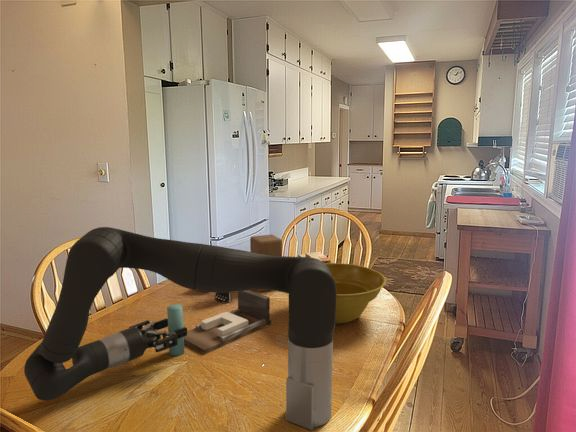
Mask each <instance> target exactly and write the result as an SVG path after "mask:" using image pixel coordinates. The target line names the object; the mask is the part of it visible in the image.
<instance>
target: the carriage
mask: <svg viewBox="0 0 576 432" xmlns="http://www.w3.org/2000/svg"><path fill="white" fill-rule="evenodd" d="M229 312H230V311H227V310H226V311H224V312H221V313H218V314H216V315H214V316H211V317H208V318H206V319H203V320H201V321H200V323H201V328H202V329H204V330H208V329H210V328H213V327H215V326H218V325H220V324H223V325H225V326H223V327H220V328H218V329H217V333H218V336H219V337H222V336H225V335H227V334H229V333H232V332H234V331H236V330H239V329H241V328H243V327H246V326H248V320H247V319H244V318H242V317H239V316H237V315H234V314H232V313H229Z"/></svg>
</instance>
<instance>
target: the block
mask: <svg viewBox="0 0 576 432" xmlns="http://www.w3.org/2000/svg"><path fill="white" fill-rule="evenodd" d="M249 240H250V241H249V243H250V251H249V252H253V253H258V254H263V255H270V256H283V240H282V238H280V237H278V236H276V235H274V234H264V235H253V236H251V237H250V239H249ZM256 290H257V291H258V292H260V293H261V292H265V291H266V292H267V291H269V290H268V289H256Z"/></svg>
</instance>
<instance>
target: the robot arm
mask: <svg viewBox="0 0 576 432" xmlns="http://www.w3.org/2000/svg"><path fill="white" fill-rule="evenodd" d="M125 268H126V269H135V270H145V271H149V272H153V273H155V274H158V275H160V276H161V277H163V278H165V279H167V280H169V281H170V282H172V283H174V284H176V285H178V286H180V287H182V288H184V289H189V290H194V291H200V292H207V293H215V294H216V293H229V292H231V293H235V292H237V293H238V291H245V290H249V291H252V290H257V289H268V291H273V292H275V291H276V292H280V293H285V294H288V325H287V326H288V327H287V378H286V379H285V386H286V387H285V389H286V391H285V394H286V395H285V408H286V409H285V420H286V421H288V422H289V423H292V424H295V425H298V426H300V427H303V428H305V429H308V430H310V431H313V430H314V429H315V428H317V427H320V426H323V425H325V424H327V423H328V422H329V421H330V419H331V417H332V404H333V403H332V402H333V401H332V398H333V357H334V356H333V355H334V353H333V352H334V331H335V328H336V323H335V316H336V284H335V280H334V278H333V276H332V273H331V271H330V269H329V268H328V266H327V265H326V264H325V263H324V262H322V261H321V260H318V259H316V258H311V257H298V256H284V255H282V256H270V255H263V254H258V253H253V252H250V251H247V250H242V249H236V248H230V247H225V246H218V245H211V244H204V243H198V242H197V243H196V242H188V241H181V240H175V239H173V240H172V239H166V238H158V237H152V236H148V235H144V234H140V233H135V232H131V231H127V230H123V229H119V228H114V227H110V226H109V227H108V226H100V227H96V228H93V229H91V230H89V231H88V232H86V233H85V234H84V235H82V237H80V238H79V239H78V240H76V242H74V243H73V245H72V246H71V247H70V249H69V251H68V254H67V258H66V263H65V267H64V272H63V274H64V275H63V279H62V285H61V289H60V293H59V296H58V300H57V303H56V306H55V308H54V310H53V311H54V312H53V314H52V317H51V318H50V320H49V324H48V326H47V327H46V330H45V332H44V335H43V338H42V339H41V340H42V341H41V342H40V344H38V346H36V348H35V349H34V350H33V352H31V354H30V355H29V356H28V357H27V358H26V360H25V363H24V367H23V372H24V376H25V378H26V380H27V382H28V385H29V386H30V389H31V390H32V392H33V394H34V396H35V397H36V398H37V399H38V400H39V401H46V402H47V401H53V400H56V399H59V398H60V397H62V396H63V395H64V394H66V393H67V392H69V391H70V390H71V389H72V388H74V387H75V386H77V385H78V384H81V382H83V381H84V380H86V379H87V378H89V377H91V376H93V375H95V374H98V373H100V372H103V371H105V370H108V369H111V368H115V367H118V366H121V365H123V364H126V363H127V362H131V361H133V360H136V359H137V358H141V357H142V356H143V355H144V353H145V352H146V351H147V349H150V348H154V349H155V351H154V352H155V353H160V352H162V351H165V350H169V348H171V347H174V346H176V345H178V340H177V339H179V338H182V337H184V336H187V331H188V328H187V327H184V326H183V328H181V329H178V330H176V331H174V332H168V331H166V330H162V329H165V328H168V317H167V318H163V319H160V320H157V321H150V320H145V321H142V322H138V323H137V324H133V325H131V326H129V327H128V328H126V329H122V330H120V331H118V332H113V333H111V334H108V335H106V336H104V337H102V338H100V339H98V340H95V341H91V342H89V343H85V344H84V345H80V344H81V342H82V340H83V339H84V338H83V337H84V335H85V333H86V330H87V327H88V323H89V319H90V318H89V317H90V311H91V307H92V306H93V303H94V302H95V299H96V298H97V295H98V294H99V292H100V291H101V290H102V288H103V287H104V286H105V284H106V283H107V282H108V281H109V279H110V278H111V277H113V276H114V275H115V274H116V273H117V271H118V270H119V269H125ZM143 326H144V327H143ZM161 337H162V338H161ZM169 343H170V344H169ZM70 360H71V362H72V366H71V367H68V368H66V366H65V365H64V363H67V362H68V361H70Z"/></svg>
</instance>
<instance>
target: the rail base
mask: <svg viewBox="0 0 576 432" xmlns="http://www.w3.org/2000/svg"><path fill="white" fill-rule="evenodd" d="M270 305H271V304H270V297H269V296H267V295H264V294H260V293H257V292H254V291H252V290H245V291H238V292H237V309H234V310H232V311H228V312H229V313H232V314H234V315H237V316H239V317H242V318H244V319H247V320H248V326H246V327H243V328H241V329H239V330H236V331H234V332H232V333H229V334H227V335H225V336H222V337H219V336H218V333H217V329H218V328H220V327H223V326H225V325H223V324H220V325H218V326H215V327H213V328H210V329H208V330H204V329H202V328H201V322H200V323H199V324H195V328H192V329H190V330H187V336H184V345H187V346H189V347H191V348H193V349H194V350H196V351H199V352H200V353H203V354H204V355H206V354H208V353H210V352H212V351H215V350H217V349H220V348H222V347H224V346H226V345H228V344H231V343H232V342H235V341H236V340H239V339H241V338H244V337H246V336H248V335H250V334H252V333H254V332H256V331H257V332H258V331H259V330H262V329H264V328H266V327H268V326H270V325H272V323H273V322H272V321H273V320H272V319H271V317H270V314H271V312H270V311H271V310H270Z"/></svg>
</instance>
